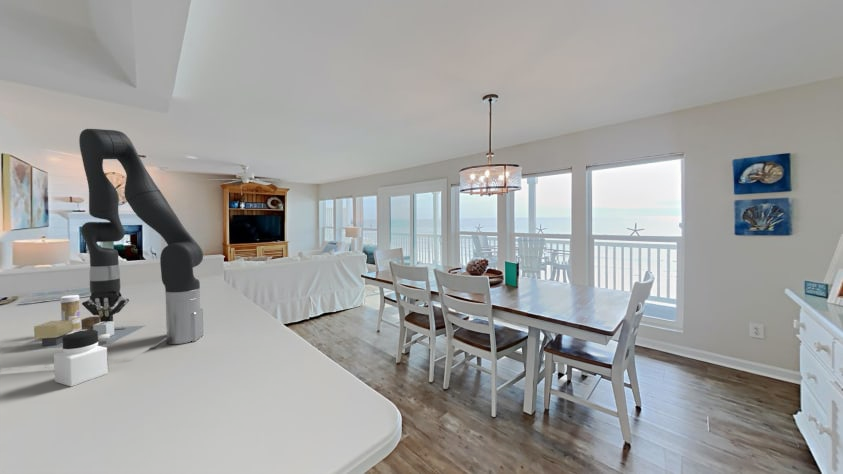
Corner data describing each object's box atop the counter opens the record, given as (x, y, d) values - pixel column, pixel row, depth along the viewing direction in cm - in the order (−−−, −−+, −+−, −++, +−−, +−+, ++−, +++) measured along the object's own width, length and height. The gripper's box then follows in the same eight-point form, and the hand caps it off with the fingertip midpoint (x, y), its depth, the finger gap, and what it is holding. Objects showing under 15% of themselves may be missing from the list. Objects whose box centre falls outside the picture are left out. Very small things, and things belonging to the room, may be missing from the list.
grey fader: (114, 334, 104) (113, 320, 104) (106, 337, 101) (106, 324, 101) (101, 335, 104) (101, 321, 103) (93, 338, 100) (93, 324, 100)
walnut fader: (101, 328, 110) (101, 315, 110) (94, 331, 107) (93, 318, 107) (90, 329, 109) (89, 316, 109) (81, 332, 106) (81, 319, 106)
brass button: (72, 331, 100) (72, 319, 100) (57, 337, 95) (56, 325, 94) (51, 332, 99) (50, 321, 98) (34, 338, 93) (34, 326, 93)
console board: (146, 329, 114) (146, 316, 114) (110, 348, 97) (109, 333, 97) (80, 333, 110) (79, 320, 109) (30, 354, 92) (29, 339, 92)
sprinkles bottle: (78, 333, 110) (76, 296, 109) (59, 335, 107) (57, 298, 107) (82, 329, 114) (81, 294, 113) (64, 332, 111) (63, 295, 111)
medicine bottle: (108, 373, 81) (107, 329, 80) (70, 387, 74) (68, 338, 73) (92, 369, 83) (91, 325, 82) (54, 382, 76) (52, 334, 76)
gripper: (134, 275, 114) (136, 321, 114) (91, 277, 111) (92, 324, 111) (119, 279, 106) (121, 328, 107) (72, 280, 103) (75, 331, 104)
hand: (106, 326), depth 109 cm, fingers closed
